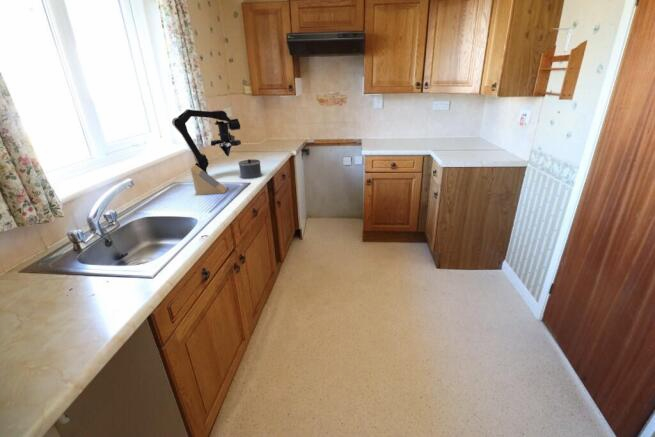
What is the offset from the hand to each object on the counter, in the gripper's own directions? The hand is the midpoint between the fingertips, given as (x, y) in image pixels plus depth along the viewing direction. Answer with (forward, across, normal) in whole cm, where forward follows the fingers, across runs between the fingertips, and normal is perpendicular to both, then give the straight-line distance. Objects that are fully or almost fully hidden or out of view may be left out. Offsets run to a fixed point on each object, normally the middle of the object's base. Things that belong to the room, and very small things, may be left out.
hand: (228, 156), depth 207 cm
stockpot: (+12, -16, +2) cm, 20 cm away
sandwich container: (+12, -8, +34) cm, 37 cm away
